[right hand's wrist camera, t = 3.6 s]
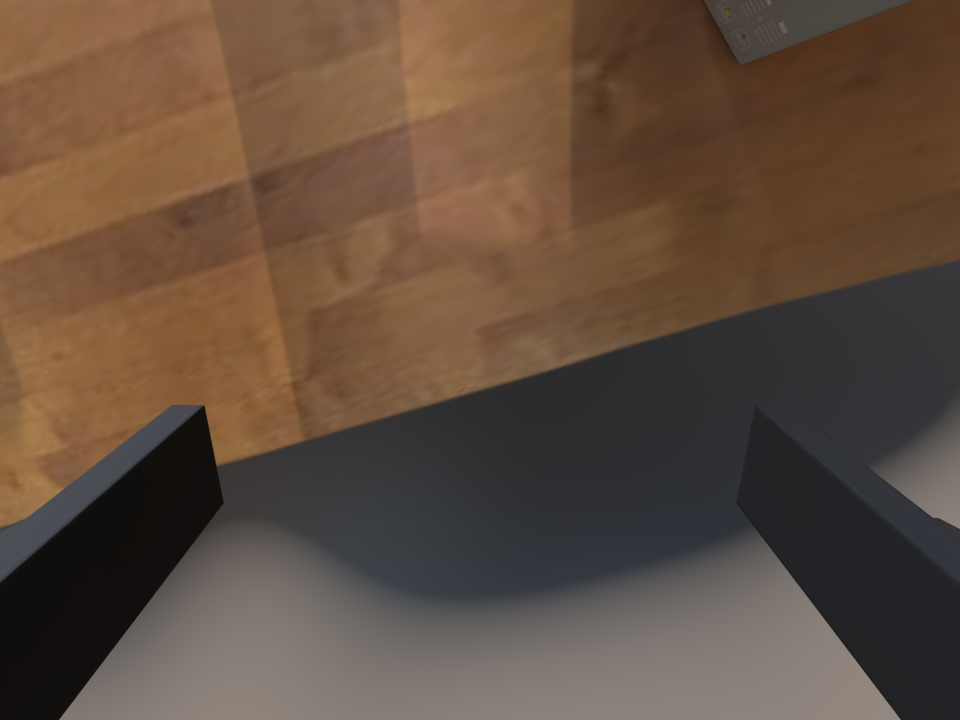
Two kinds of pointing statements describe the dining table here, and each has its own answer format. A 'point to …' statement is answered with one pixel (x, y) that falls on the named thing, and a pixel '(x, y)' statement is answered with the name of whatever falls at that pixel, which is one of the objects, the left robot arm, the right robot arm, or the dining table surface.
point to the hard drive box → (786, 21)
